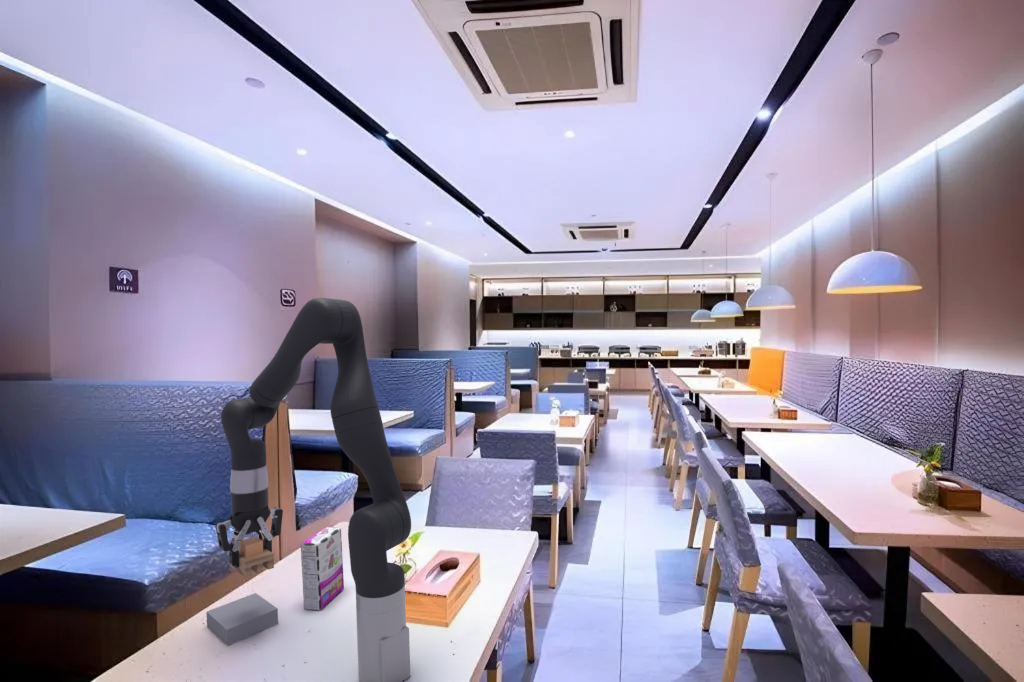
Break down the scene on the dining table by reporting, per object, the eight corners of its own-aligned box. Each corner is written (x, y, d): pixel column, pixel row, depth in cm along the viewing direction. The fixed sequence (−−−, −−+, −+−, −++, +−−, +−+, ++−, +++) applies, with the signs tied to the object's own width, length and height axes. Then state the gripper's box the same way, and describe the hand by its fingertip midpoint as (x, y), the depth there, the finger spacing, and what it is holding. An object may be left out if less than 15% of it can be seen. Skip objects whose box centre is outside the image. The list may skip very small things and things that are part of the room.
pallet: (273, 567, 116) (273, 553, 116) (245, 577, 111) (245, 562, 111) (256, 556, 122) (256, 543, 121) (229, 565, 117) (228, 551, 117)
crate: (263, 552, 116) (262, 540, 116) (246, 557, 114) (246, 546, 114) (255, 547, 119) (255, 536, 119) (239, 552, 116) (238, 541, 116)
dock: (278, 623, 120) (277, 608, 120) (227, 645, 112) (226, 629, 112) (256, 607, 128) (255, 592, 128) (207, 626, 120) (206, 611, 120)
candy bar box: (327, 588, 137) (325, 526, 137) (344, 589, 136) (342, 526, 136) (301, 610, 126) (299, 542, 126) (320, 611, 125) (318, 543, 125)
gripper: (221, 498, 108) (223, 578, 108) (288, 482, 119) (290, 555, 119) (208, 491, 113) (210, 568, 113) (274, 477, 124) (275, 546, 124)
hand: (251, 561), depth 116 cm, fingers closed on pallet, 6 cm apart
